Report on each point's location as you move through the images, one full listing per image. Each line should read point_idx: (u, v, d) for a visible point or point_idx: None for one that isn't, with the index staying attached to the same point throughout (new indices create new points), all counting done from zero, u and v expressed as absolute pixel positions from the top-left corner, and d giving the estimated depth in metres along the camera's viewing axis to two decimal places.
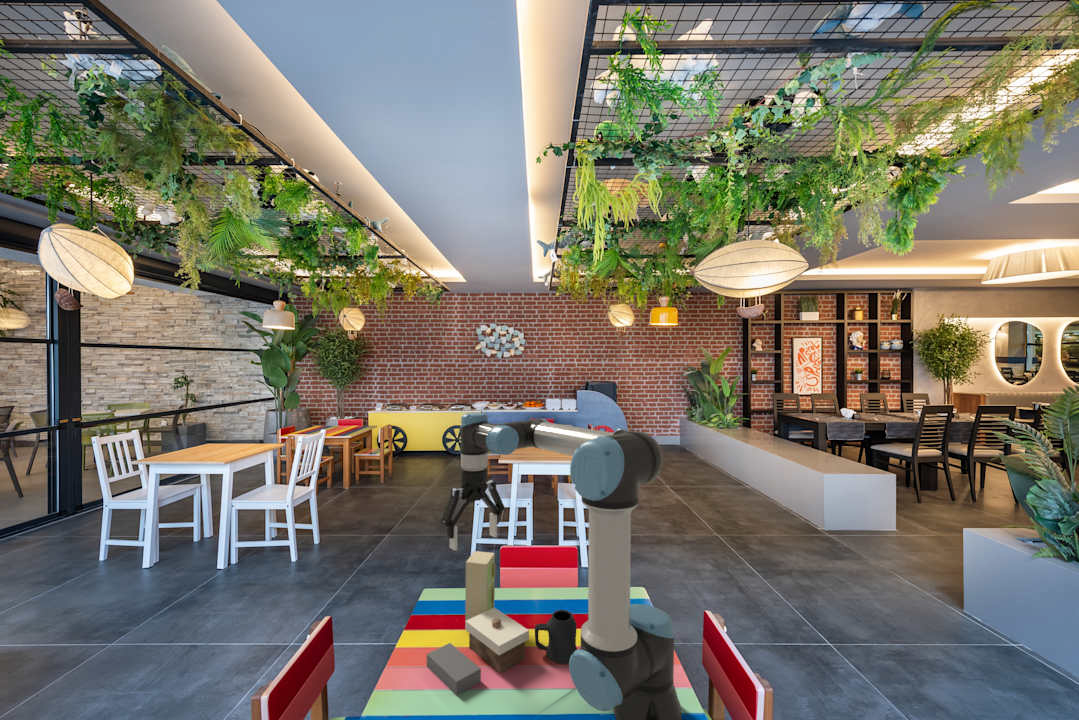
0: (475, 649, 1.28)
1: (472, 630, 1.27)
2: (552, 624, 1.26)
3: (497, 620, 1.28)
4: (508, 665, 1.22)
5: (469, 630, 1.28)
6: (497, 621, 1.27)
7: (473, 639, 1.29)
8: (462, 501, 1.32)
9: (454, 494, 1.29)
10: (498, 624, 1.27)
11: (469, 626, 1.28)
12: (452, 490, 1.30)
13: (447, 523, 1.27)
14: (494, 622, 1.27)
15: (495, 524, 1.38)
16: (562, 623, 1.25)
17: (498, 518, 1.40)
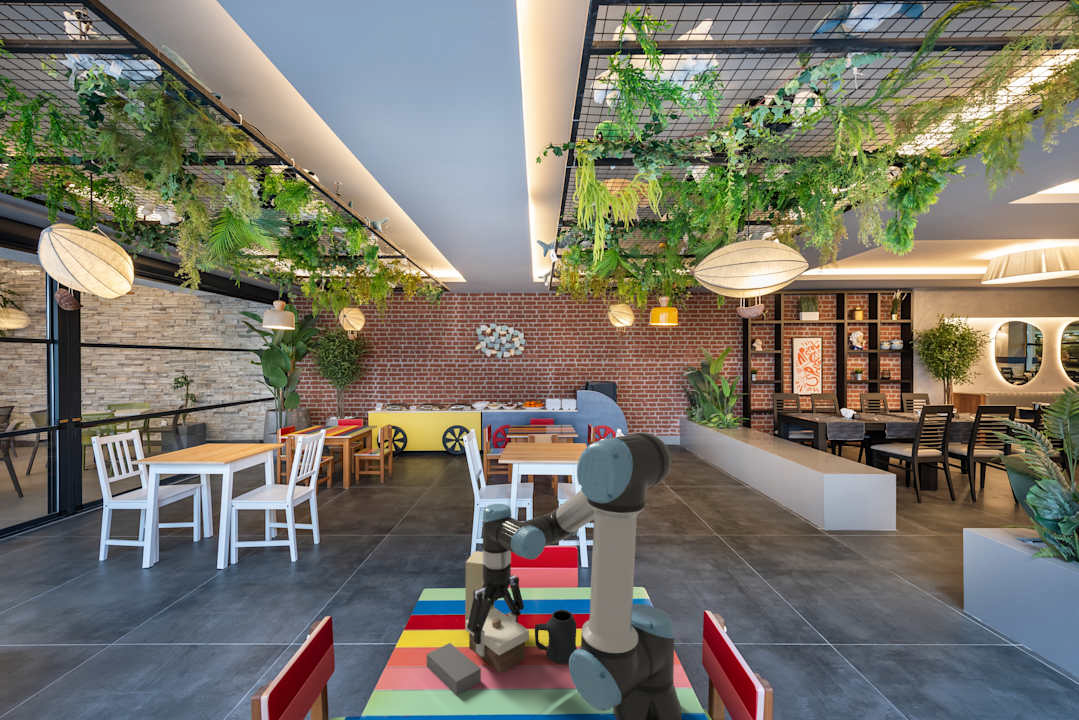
0: (475, 649, 1.28)
1: None
2: (552, 624, 1.26)
3: (497, 620, 1.28)
4: (508, 665, 1.22)
5: (469, 630, 1.28)
6: (497, 621, 1.27)
7: (473, 639, 1.29)
8: (485, 602, 1.25)
9: (477, 598, 1.22)
10: (498, 624, 1.27)
11: None
12: (474, 593, 1.23)
13: (474, 629, 1.21)
14: (494, 622, 1.27)
15: None
16: (562, 623, 1.25)
17: (517, 618, 1.32)
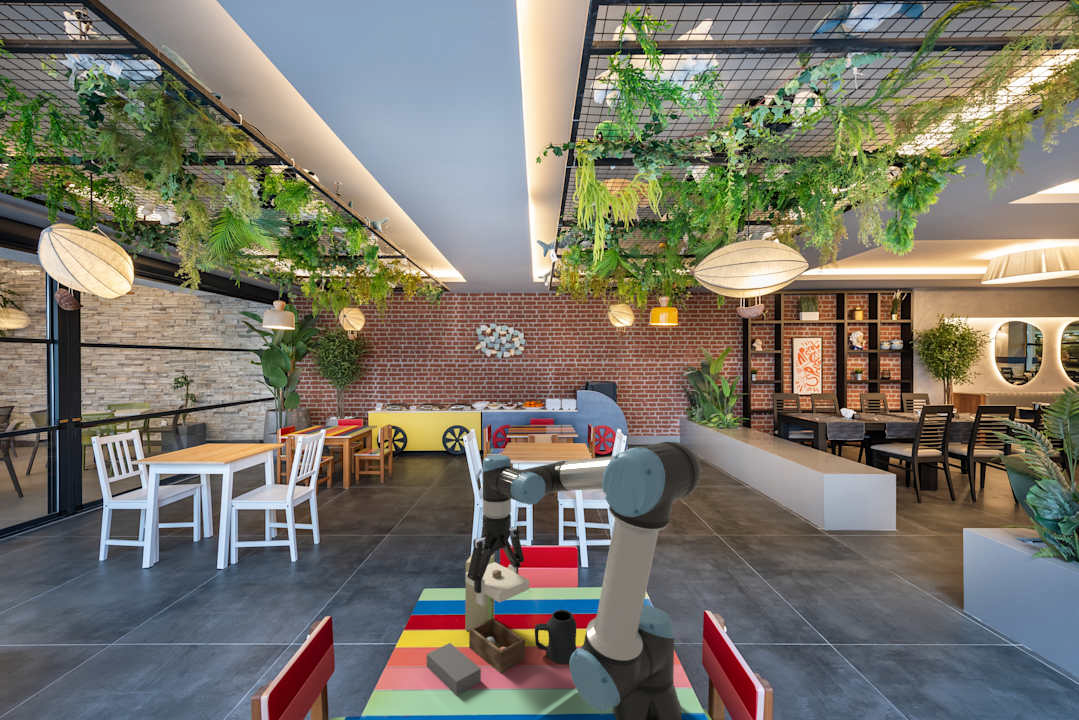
0: (475, 649, 1.28)
1: (472, 581, 1.27)
2: (552, 624, 1.26)
3: (498, 571, 1.27)
4: (508, 665, 1.22)
5: (469, 581, 1.28)
6: (497, 572, 1.27)
7: (473, 639, 1.29)
8: (486, 551, 1.25)
9: (477, 546, 1.22)
10: (498, 574, 1.26)
11: None
12: (474, 542, 1.23)
13: (474, 578, 1.21)
14: (494, 573, 1.27)
15: None
16: (562, 623, 1.25)
17: (517, 571, 1.31)
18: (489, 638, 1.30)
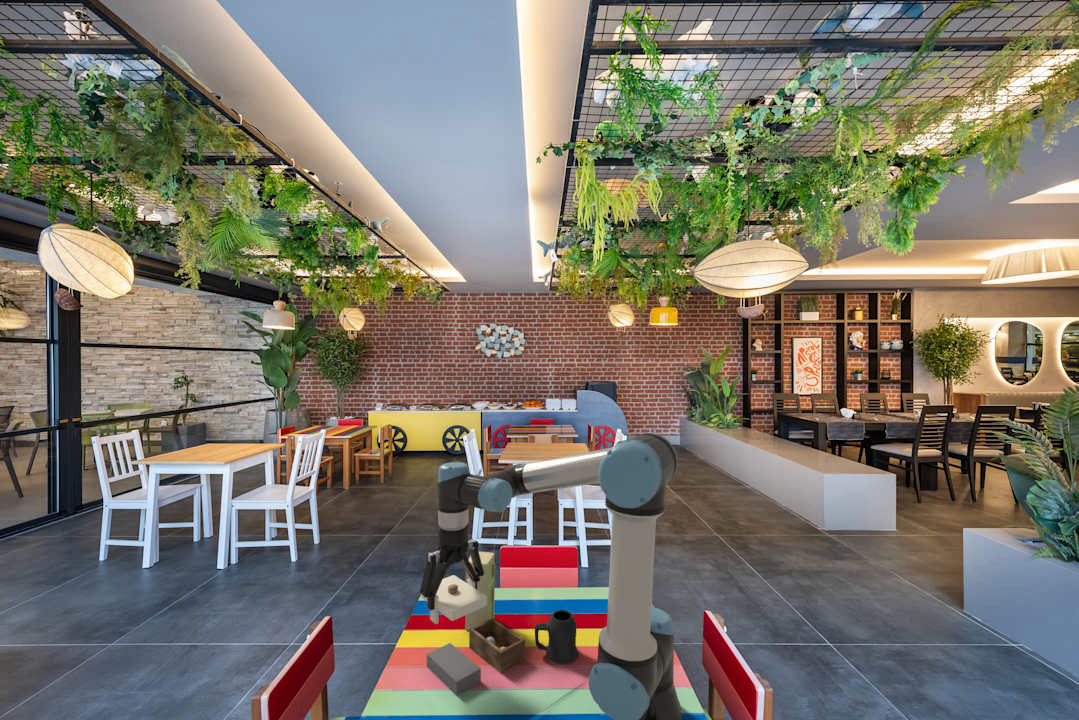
0: (475, 649, 1.28)
1: None
2: (552, 624, 1.26)
3: (454, 586, 1.20)
4: (508, 665, 1.22)
5: None
6: (453, 587, 1.19)
7: (473, 639, 1.29)
8: (440, 565, 1.17)
9: (430, 560, 1.14)
10: (454, 590, 1.18)
11: None
12: (427, 555, 1.15)
13: (427, 594, 1.13)
14: (450, 588, 1.19)
15: None
16: (562, 623, 1.25)
17: (476, 585, 1.23)
18: (489, 638, 1.30)
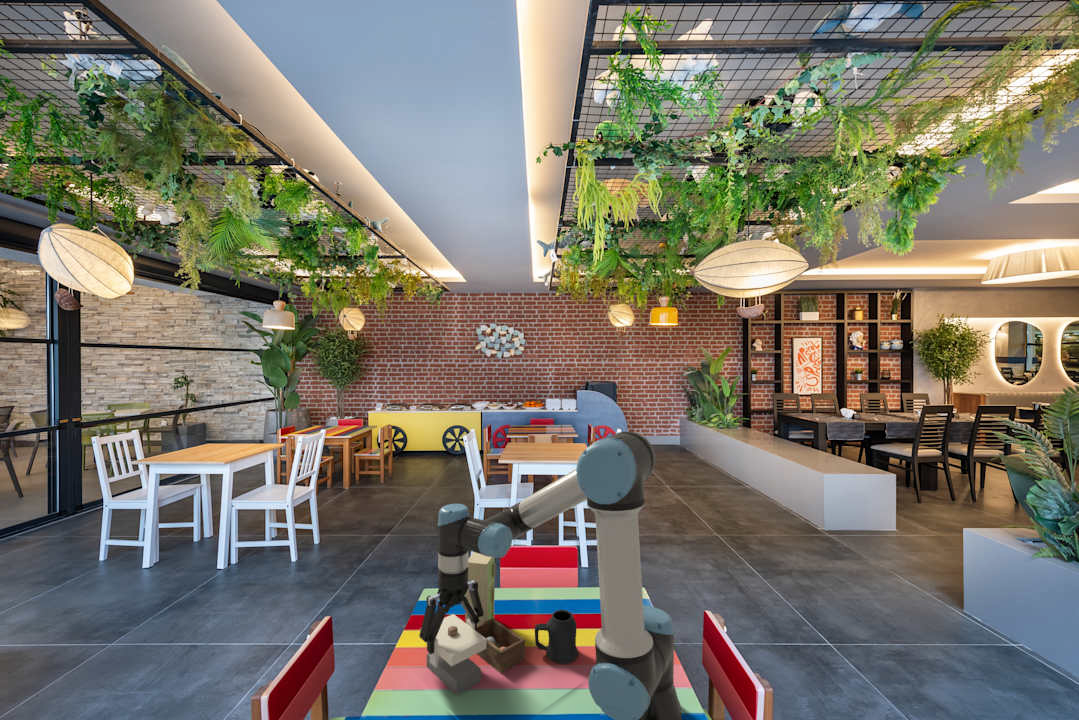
0: None
1: None
2: (552, 624, 1.26)
3: (453, 628, 1.20)
4: (508, 665, 1.22)
5: None
6: (453, 629, 1.19)
7: None
8: (440, 608, 1.17)
9: (430, 604, 1.14)
10: (454, 632, 1.19)
11: None
12: (427, 599, 1.15)
13: (426, 638, 1.13)
14: (450, 630, 1.19)
15: None
16: (562, 623, 1.25)
17: (476, 626, 1.24)
18: (489, 638, 1.30)
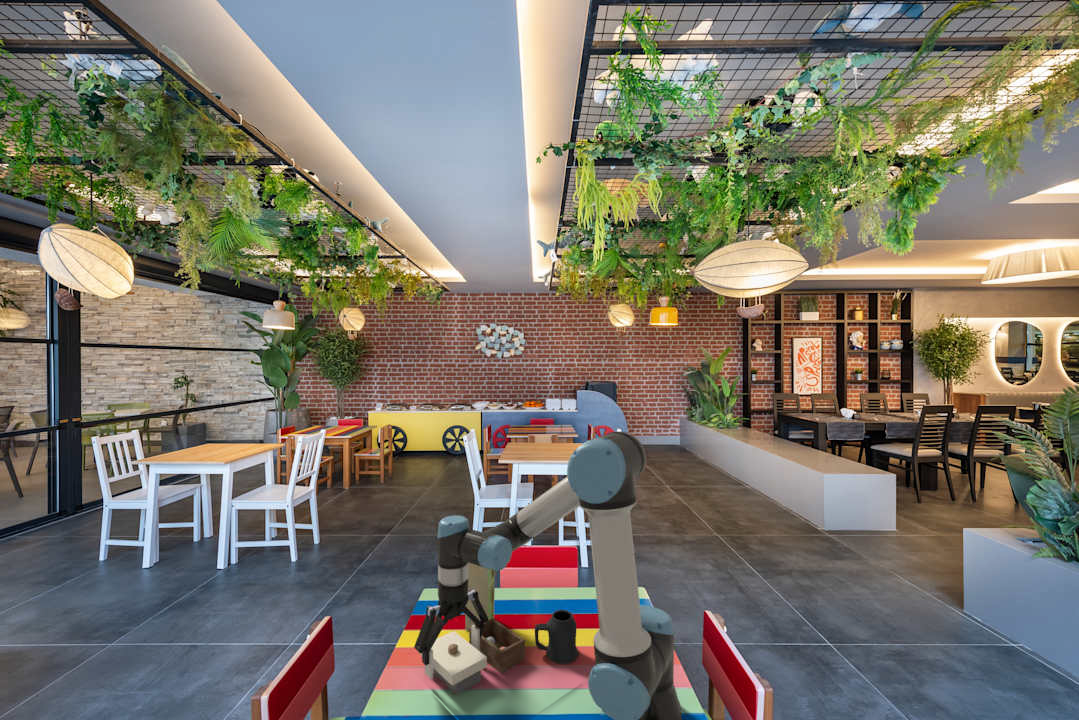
0: None
1: None
2: (552, 624, 1.26)
3: (454, 646, 1.20)
4: (508, 665, 1.22)
5: None
6: (453, 647, 1.19)
7: None
8: (439, 620, 1.17)
9: (430, 614, 1.14)
10: (454, 650, 1.19)
11: None
12: (428, 609, 1.15)
13: (421, 650, 1.12)
14: (450, 648, 1.19)
15: (477, 639, 1.23)
16: (562, 623, 1.25)
17: (481, 631, 1.25)
18: (489, 638, 1.30)
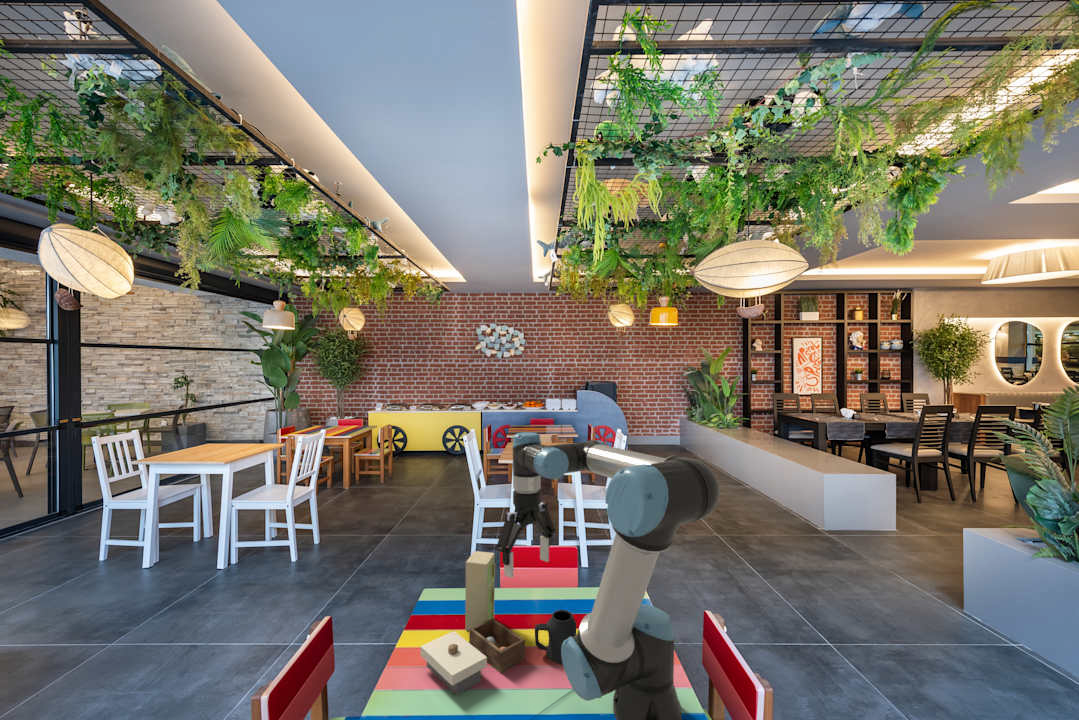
0: None
1: (427, 657, 1.19)
2: (552, 624, 1.26)
3: (454, 646, 1.20)
4: (508, 665, 1.22)
5: (424, 656, 1.20)
6: (453, 647, 1.19)
7: (473, 639, 1.29)
8: (516, 525, 1.26)
9: (509, 518, 1.24)
10: (454, 650, 1.19)
11: (424, 652, 1.20)
12: (507, 514, 1.25)
13: (504, 549, 1.21)
14: (450, 648, 1.19)
15: (547, 548, 1.33)
16: (562, 623, 1.25)
17: (549, 541, 1.34)
18: (489, 638, 1.30)
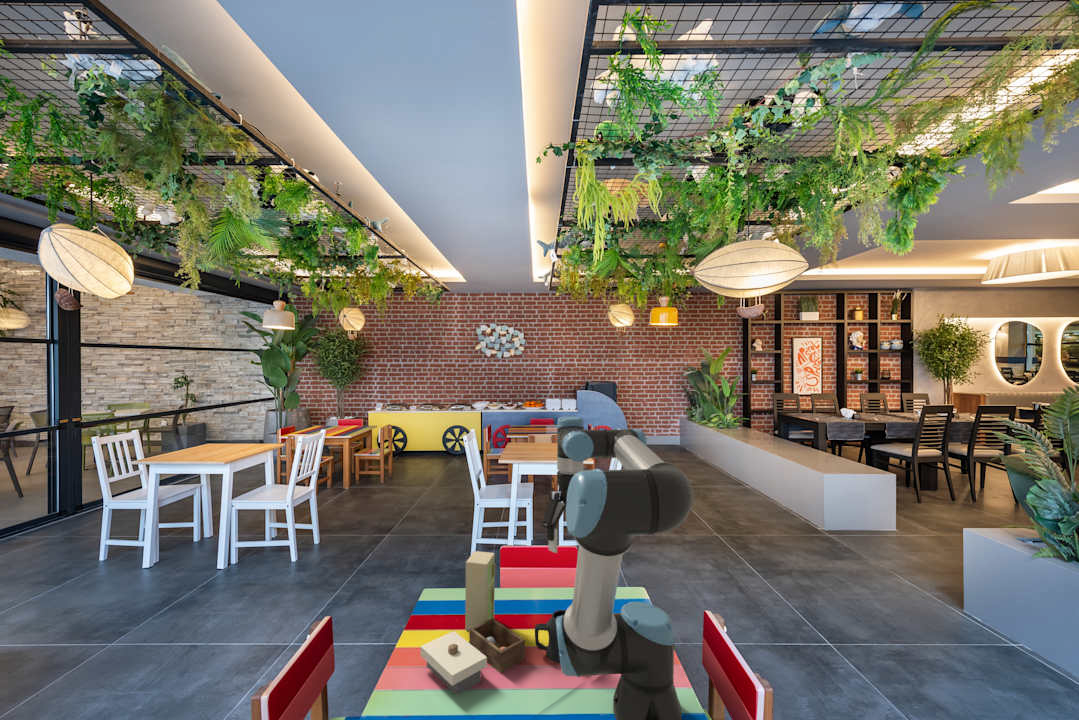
0: None
1: (427, 657, 1.19)
2: (552, 624, 1.26)
3: (454, 646, 1.20)
4: (508, 665, 1.22)
5: (424, 656, 1.20)
6: (453, 647, 1.19)
7: (473, 639, 1.29)
8: (560, 504, 1.33)
9: (554, 497, 1.31)
10: (454, 650, 1.19)
11: (424, 652, 1.20)
12: (551, 493, 1.32)
13: (549, 526, 1.29)
14: (450, 648, 1.19)
15: None
16: None
17: None
18: (489, 638, 1.30)
